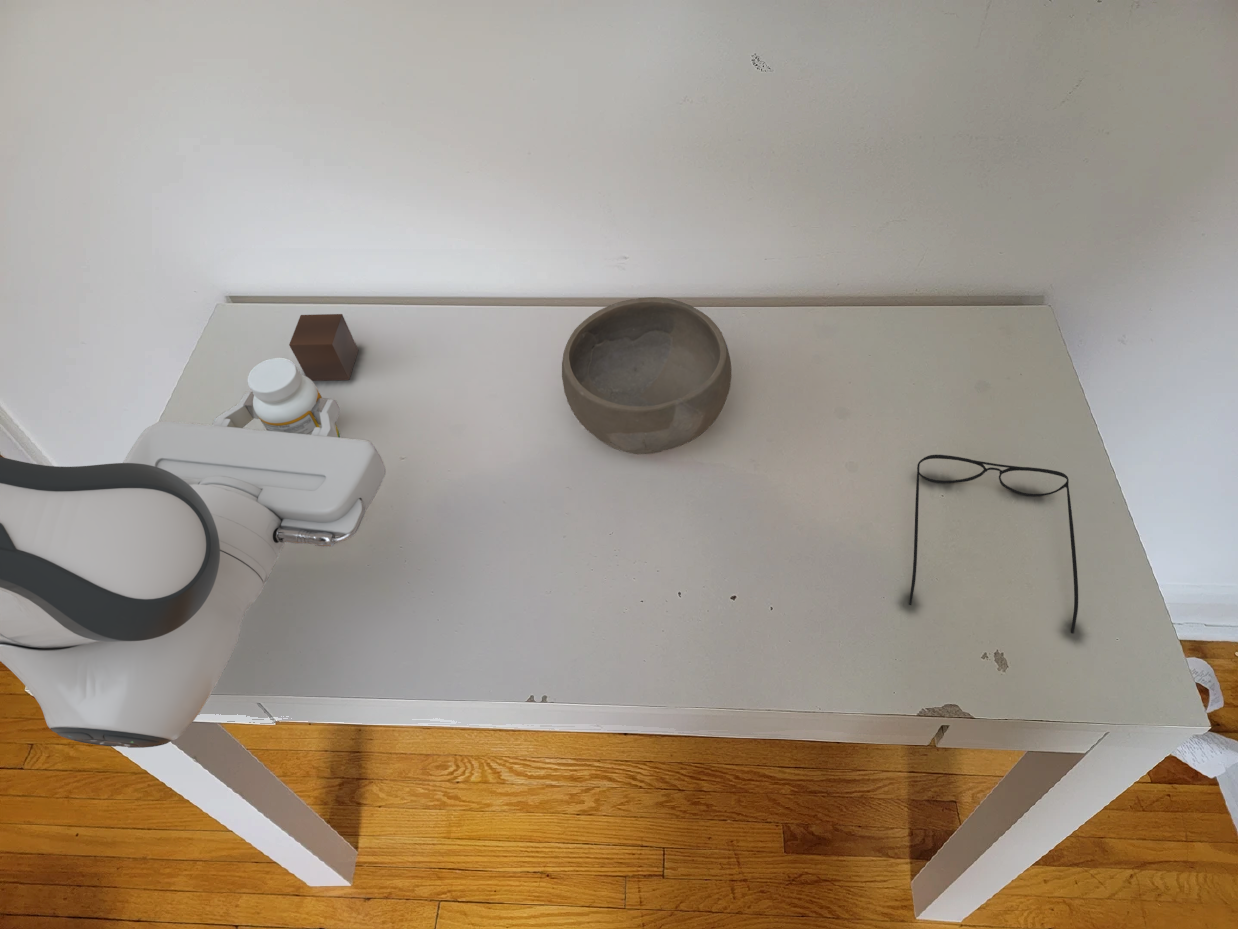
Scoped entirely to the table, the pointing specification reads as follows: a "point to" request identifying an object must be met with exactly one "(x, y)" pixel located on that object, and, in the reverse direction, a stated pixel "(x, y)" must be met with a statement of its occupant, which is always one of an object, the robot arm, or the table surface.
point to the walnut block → (324, 347)
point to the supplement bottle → (284, 397)
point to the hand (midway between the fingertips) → (293, 399)
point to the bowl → (646, 374)
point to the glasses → (1010, 468)
